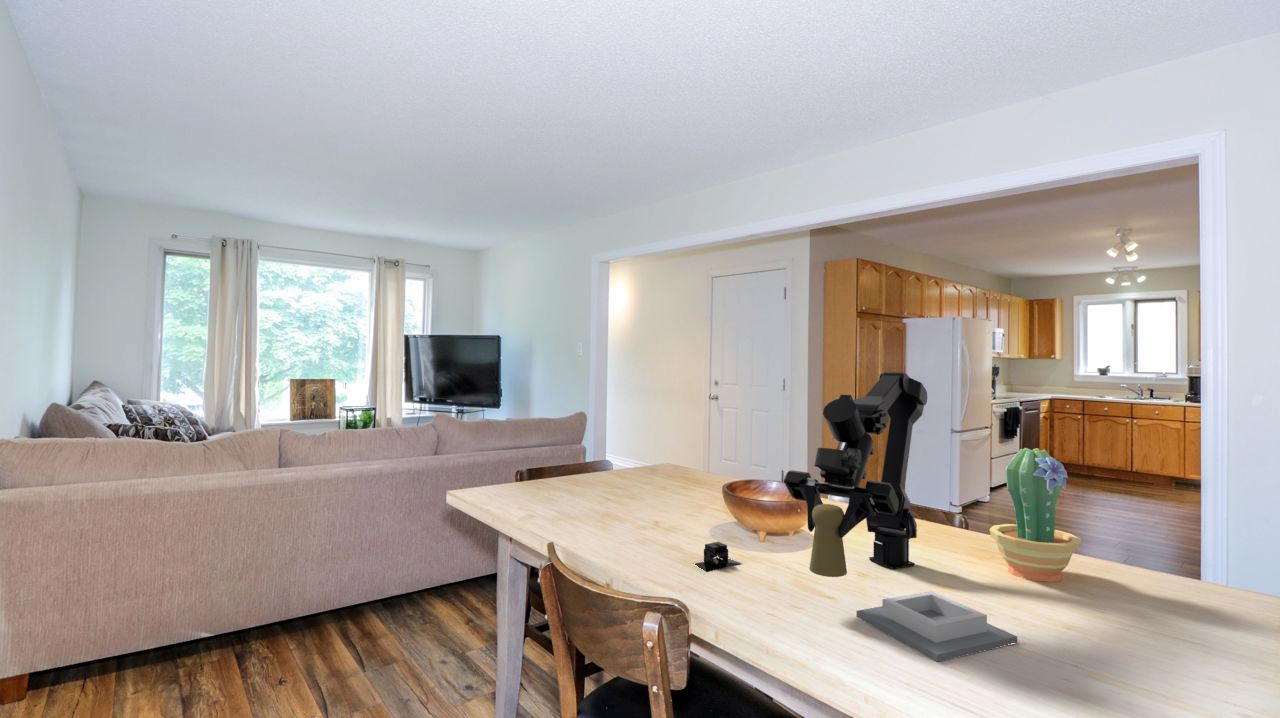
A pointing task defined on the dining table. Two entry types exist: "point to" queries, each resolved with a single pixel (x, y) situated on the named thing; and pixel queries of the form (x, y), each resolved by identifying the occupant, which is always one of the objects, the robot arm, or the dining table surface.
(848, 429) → the robot arm
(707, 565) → the black bracket mount
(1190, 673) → the dining table surface
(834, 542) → the cork
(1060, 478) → the potted cactus
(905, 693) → the dining table surface
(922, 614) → the socket plate
